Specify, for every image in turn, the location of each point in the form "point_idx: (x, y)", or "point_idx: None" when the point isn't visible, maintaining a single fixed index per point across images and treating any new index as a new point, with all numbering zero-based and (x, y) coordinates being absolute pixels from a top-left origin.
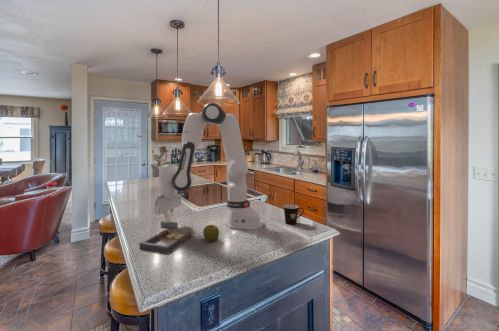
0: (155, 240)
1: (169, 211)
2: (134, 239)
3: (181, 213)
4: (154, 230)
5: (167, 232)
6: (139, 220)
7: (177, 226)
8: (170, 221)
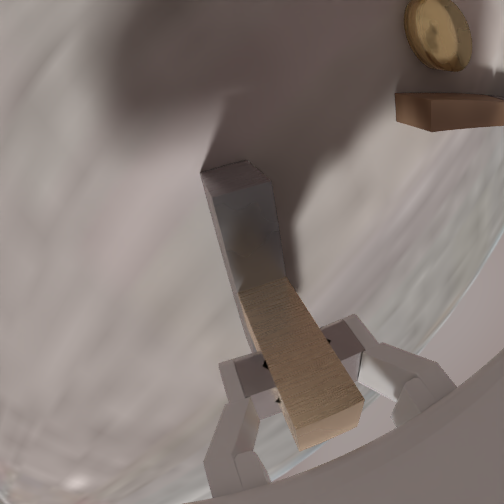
0: (500, 97)
1: (321, 427)
2: (487, 230)
3: (3, 425)
4: (369, 279)
5: (432, 95)
6: (256, 452)
7: (204, 176)
8: (263, 289)
